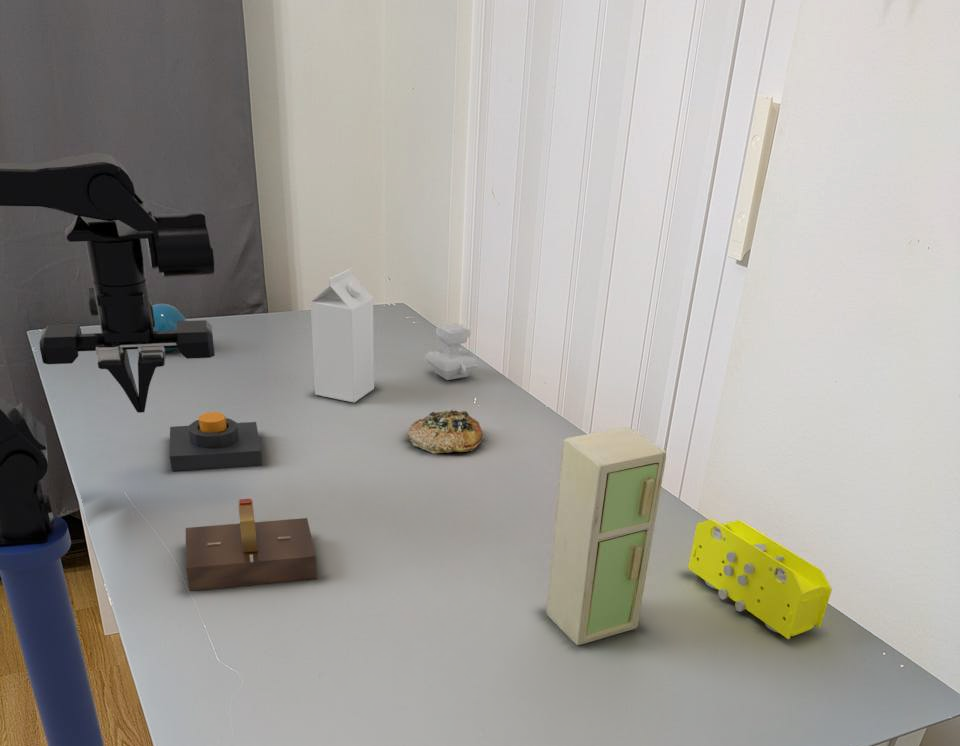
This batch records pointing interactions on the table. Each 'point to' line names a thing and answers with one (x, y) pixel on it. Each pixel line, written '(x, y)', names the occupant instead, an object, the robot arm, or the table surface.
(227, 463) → the block
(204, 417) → the bell button
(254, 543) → the thumbturn
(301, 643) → the table surface
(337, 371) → the milk carton
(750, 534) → the yellow toy chassis
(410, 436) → the bread roll
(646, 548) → the toy refrigerator
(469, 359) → the stamp
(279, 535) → the plate
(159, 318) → the ball
